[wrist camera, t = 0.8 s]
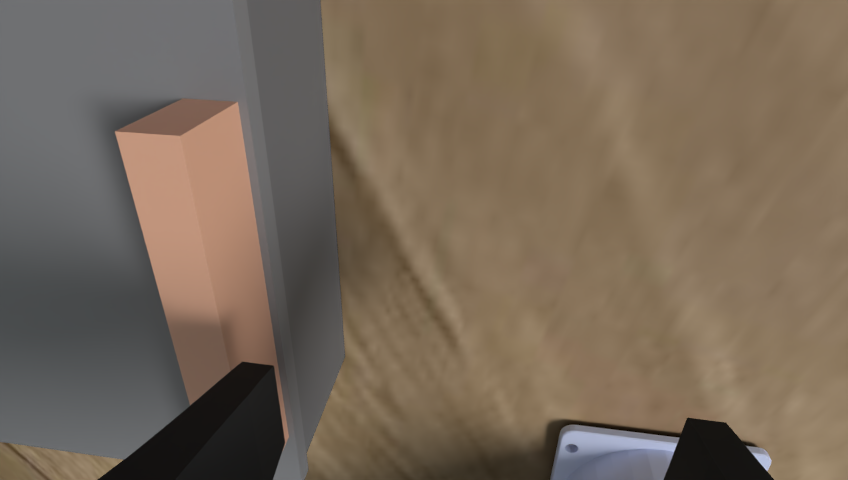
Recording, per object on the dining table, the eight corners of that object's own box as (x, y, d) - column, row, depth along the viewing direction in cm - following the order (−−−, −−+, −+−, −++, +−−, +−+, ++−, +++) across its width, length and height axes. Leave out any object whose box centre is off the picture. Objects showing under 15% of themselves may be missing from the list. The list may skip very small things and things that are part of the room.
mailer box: (344, 356, 22) (304, 459, 18) (76, 325, 23) (-23, 413, 19) (318, -24, 15) (240, -9, 11) (-62, -37, 16) (-268, -28, 12)
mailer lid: (308, 469, 17) (275, 554, 15) (-30, 421, 19) (-110, 492, 16) (243, -20, 10) (162, -6, 8) (-293, -38, 12) (-501, -32, 9)
